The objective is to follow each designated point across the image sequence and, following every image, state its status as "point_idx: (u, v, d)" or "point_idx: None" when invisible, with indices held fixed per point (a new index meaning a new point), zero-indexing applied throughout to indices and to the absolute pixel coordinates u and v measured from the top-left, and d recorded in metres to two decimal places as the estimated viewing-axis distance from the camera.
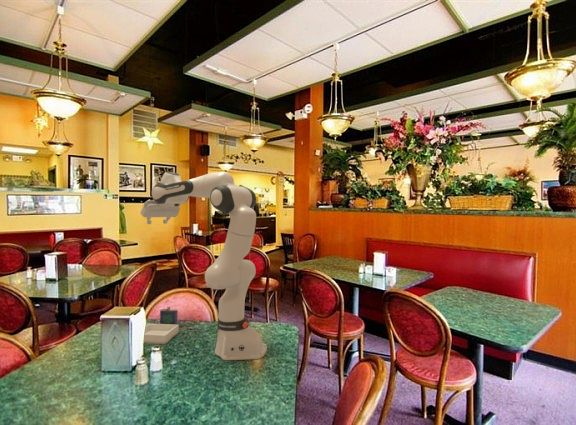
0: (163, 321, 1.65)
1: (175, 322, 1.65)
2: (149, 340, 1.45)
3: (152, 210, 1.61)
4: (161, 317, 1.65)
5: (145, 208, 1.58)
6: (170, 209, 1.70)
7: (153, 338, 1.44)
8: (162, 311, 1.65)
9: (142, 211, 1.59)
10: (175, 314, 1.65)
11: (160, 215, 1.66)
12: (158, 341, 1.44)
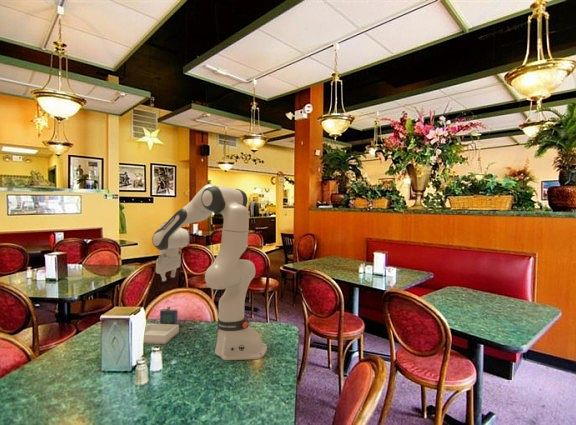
0: (163, 321, 1.65)
1: (175, 322, 1.65)
2: (149, 340, 1.45)
3: (165, 264, 1.60)
4: (161, 317, 1.65)
5: (160, 264, 1.56)
6: (175, 259, 1.70)
7: (153, 338, 1.44)
8: (162, 311, 1.65)
9: (158, 268, 1.56)
10: (175, 314, 1.65)
11: (171, 268, 1.65)
12: (158, 341, 1.44)
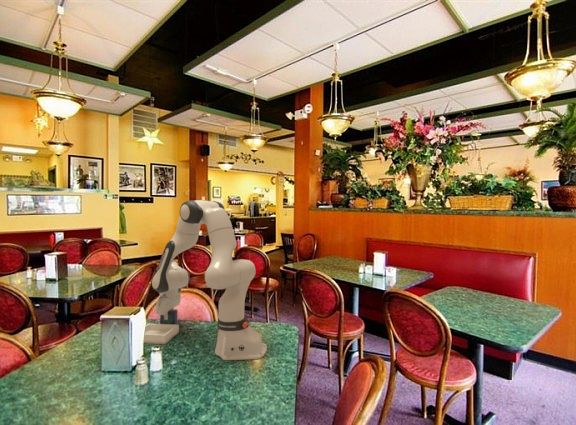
0: (163, 321, 1.65)
1: (175, 322, 1.65)
2: (149, 340, 1.45)
3: (165, 305, 1.60)
4: (161, 317, 1.65)
5: (160, 305, 1.56)
6: (175, 297, 1.70)
7: (153, 338, 1.44)
8: None
9: (158, 310, 1.56)
10: (175, 314, 1.65)
11: (171, 307, 1.65)
12: (158, 341, 1.44)
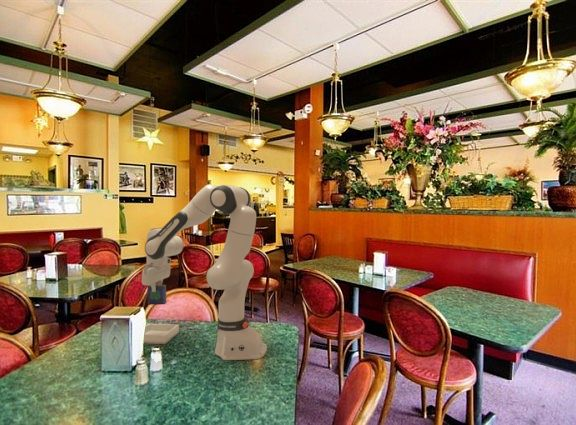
0: (150, 298, 1.51)
1: (163, 298, 1.51)
2: (149, 340, 1.45)
3: (153, 274, 1.46)
4: (148, 293, 1.51)
5: (147, 274, 1.42)
6: (164, 269, 1.56)
7: (153, 338, 1.44)
8: (149, 286, 1.51)
9: (144, 280, 1.42)
10: (163, 290, 1.51)
11: (159, 278, 1.51)
12: (158, 341, 1.44)
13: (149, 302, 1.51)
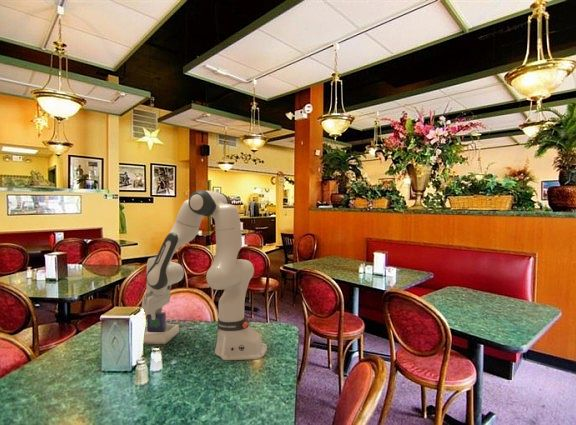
0: (150, 325, 1.51)
1: (163, 326, 1.51)
2: (149, 340, 1.45)
3: (152, 303, 1.46)
4: (148, 320, 1.51)
5: (147, 304, 1.42)
6: (163, 295, 1.56)
7: (153, 338, 1.44)
8: (149, 314, 1.51)
9: (144, 309, 1.42)
10: (163, 317, 1.51)
11: (159, 306, 1.51)
12: (158, 341, 1.44)
13: (149, 330, 1.51)
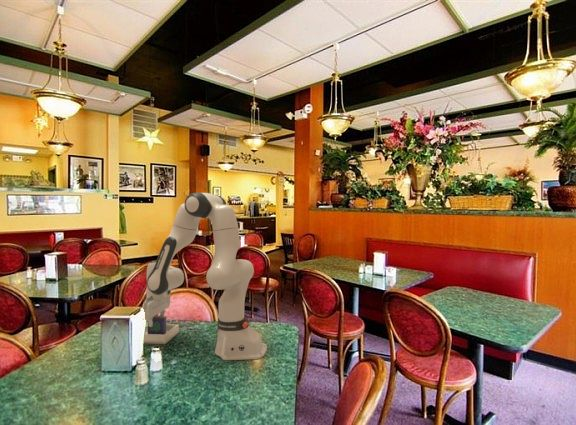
0: (150, 329, 1.51)
1: (163, 330, 1.51)
2: (149, 340, 1.45)
3: (152, 308, 1.46)
4: (148, 324, 1.51)
5: (147, 309, 1.42)
6: (163, 300, 1.56)
7: (153, 338, 1.44)
8: None
9: None
10: (163, 321, 1.51)
11: (159, 311, 1.51)
12: (158, 341, 1.44)
13: (149, 333, 1.51)
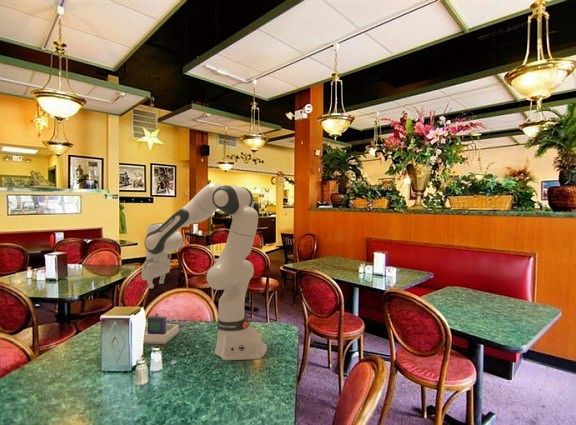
0: (150, 329, 1.51)
1: (163, 330, 1.51)
2: (149, 340, 1.45)
3: (152, 269, 1.46)
4: (148, 324, 1.51)
5: (147, 269, 1.42)
6: (163, 264, 1.56)
7: (153, 338, 1.44)
8: (149, 318, 1.51)
9: (144, 275, 1.42)
10: (163, 321, 1.51)
11: (159, 273, 1.51)
12: (158, 341, 1.44)
13: (149, 333, 1.51)
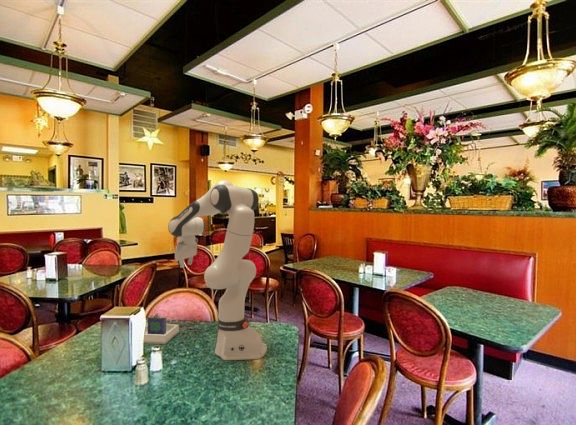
0: (150, 329, 1.51)
1: (163, 330, 1.51)
2: (149, 340, 1.45)
3: (184, 251, 1.65)
4: (148, 324, 1.51)
5: (179, 250, 1.61)
6: (192, 247, 1.75)
7: (153, 338, 1.44)
8: (149, 318, 1.51)
9: (177, 255, 1.61)
10: (163, 321, 1.51)
11: (188, 255, 1.70)
12: (158, 341, 1.44)
13: None
